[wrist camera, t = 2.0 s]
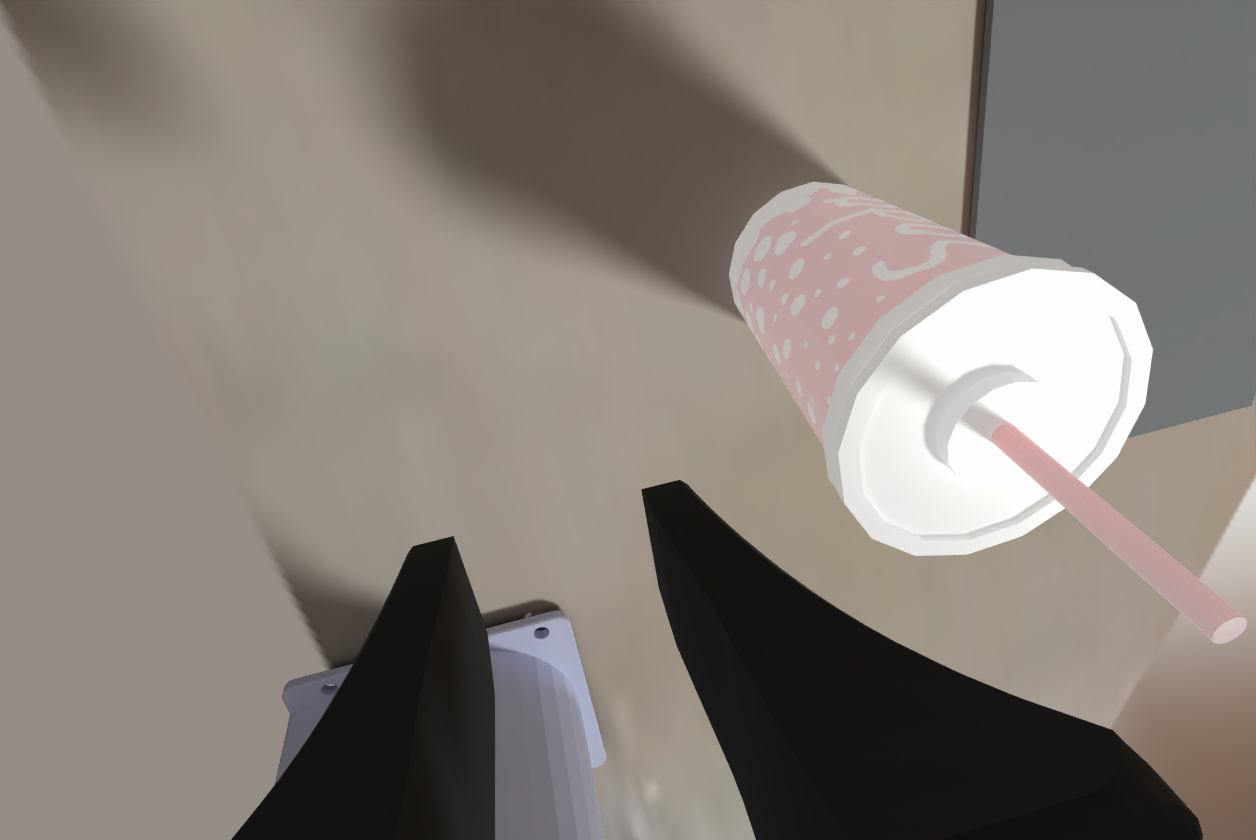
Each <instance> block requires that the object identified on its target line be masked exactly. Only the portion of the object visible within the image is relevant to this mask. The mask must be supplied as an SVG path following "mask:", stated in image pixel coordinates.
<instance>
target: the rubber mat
mask: <svg viewBox="0 0 1256 840" xmlns="http://www.w3.org/2000/svg"><path fill="white" fill-rule="evenodd" d="M969 237H970V238H973V239H975V240H977V241H980V242H982V243H985V244H987V245H989V246H992V247H994V248H997V249H999V250H1001V251H1004V252H1006V253H1009V254H1011V255H1015V256H1028V257H1040V258H1052V259H1061V260H1063V261H1064V262H1066V263H1067V264H1069V265H1070V266H1072V267H1081V268H1084V269H1086V270H1088V271H1090V272H1092V273H1094V274H1096V275H1097V276H1098V277H1100V278H1101V279H1103V280H1104V281H1106V282H1107V283H1108V284H1110V285H1111V286H1113V287H1114V288H1115V289H1117V290H1118V291H1120V292H1121V293H1123V294H1124V295H1125V296H1127V297H1128V298H1130V299H1131V300H1133V301H1134V302H1135V303H1136V305H1137V307H1138V310H1139V313H1140V315H1141V318H1142V321H1143V324H1144V326H1145V329H1146V332H1147V335H1148V337H1149V340H1150V343H1151V346H1152V348H1153V352H1152V359H1151V366H1150V373H1149V381H1148V388H1147V395H1146V402H1145V405H1144V407H1143V409H1142V411H1141V413H1140V414H1139V416H1138V418H1137V420H1136V422H1135V424H1134V426H1133V428H1132V429H1131V431H1130V433H1129V435H1128V437H1127V438H1129V437H1133V436H1137V435H1141V434H1144V433H1148V432H1152V431H1156V430H1160V429H1163V428H1167V427H1171V426H1175V425H1179V424H1183V423H1186V422H1190V421H1194V420H1198V419H1202V418H1205V417H1209V416H1213V415H1217V414H1221V413H1225V412H1228V411H1232V410H1236V409H1240V408H1244V407H1248V406H1251V405H1252V402H1253V399H1254V396H1255V393H1256V0H987V5H986V19H985V32H984V46H983V59H982V73H981V86H980V100H979V113H978V127H977V140H976V153H975V167H974V180H973V194H972V207H971V221H970V234H969Z"/></svg>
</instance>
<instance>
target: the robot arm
mask: <svg viewBox="0 0 1256 840" xmlns="http://www.w3.org/2000/svg"><path fill="white" fill-rule="evenodd" d="M641 490H642V496H643V501H644V507H645V513H646V518H647V524H648V529H649V535H650V541H651V546H652V552H653V557H654V563H655V569H656V574H657V580H658V585H659V590H660V593H661V596H662V600H663V603H664V606H665V609H666V613H667V616H668V619H669V622H670V626H671V629H672V632H673V635H674V638H675V642H676V645H677V647H678V650H679V652H680V654H681V657H682V659H683V661H684V663H685V666H686V668H687V670H688V673H689V675H690V677H691V680H692V682H693V684H694V687H695V689H696V691H697V693H698V696H699V698H700V700H701V702H702V705H703V707H704V709H705V712H706V714H707V716H708V718H709V721H710V723H711V725H712V728H713V730H714V732H715V734H716V737H717V739H718V741H719V744H720V746H721V748H722V750H723V753H724V755H725V757H726V760H727V762H728V764H729V766H730V769H731V771H732V773H733V776H734V779H735V781H736V784H737V786H738V789H739V791H740V794H741V796H742V799H743V802H744V805H745V808H746V811H747V814H748V817H749V820H750V823H751V826H752V829H753V832H754V835H755V838H756V840H1202V839H1203V834H1202V831H1201V827H1200V824H1199V821H1198V818H1197V817H1196V816H1195V815H1194V814H1193V813H1192V811H1191V810H1190V809H1189V808H1188V807H1187V806H1186V805H1185V804H1184V803H1183V802H1182V800H1181V799H1180V798H1179V797H1178V796H1177V795H1176V794H1175V793H1174V791H1173V790H1172V789H1171V788H1170V787H1169V786H1168V785H1167V783H1166V782H1165V781H1164V780H1163V779H1162V778H1161V777H1160V776H1159V775H1158V774H1157V773H1156V772H1155V771H1154V770H1153V769H1152V768H1151V766H1150V765H1149V764H1148V763H1147V762H1146V761H1144V760H1143V759H1142V758H1141V757H1140V756H1139V755H1138V754H1137V753H1136V752H1135V751H1134V750H1132V749H1131V748H1130V747H1129V746H1128V745H1127V744H1126V743H1125V742H1124V741H1123V740H1122V739H1121V738H1120V737H1119V736H1118V735H1117V734H1116V733H1115V732H1114V731H1113V730H1111V729H1108V728H1105V727H1102V726H1099V725H1096V724H1093V723H1091V722H1088V721H1085V720H1082V719H1079V718H1076V717H1073V716H1070V715H1067V714H1064V713H1062V712H1059V711H1056V710H1053V709H1050V708H1047V707H1044V706H1041V705H1038V704H1036V703H1033V702H1030V701H1027V700H1024V699H1021V698H1019V697H1016V696H1014V695H1011V694H1009V693H1006V692H1004V691H1001V690H999V689H996V688H994V687H992V686H989V685H987V684H984V683H982V682H980V681H977V680H975V679H972V678H970V677H967V676H965V675H963V674H961V673H958V672H956V671H954V670H952V669H950V668H948V667H946V666H943V665H941V664H939V663H937V662H935V661H933V660H931V659H929V658H927V657H925V656H923V655H921V654H919V653H917V652H915V651H913V650H911V649H909V648H907V647H905V646H903V645H901V644H899V643H896V642H894V641H893V640H891V639H889V638H887V637H886V636H884V635H882V634H880V633H878V632H877V631H875V630H873V629H871V628H870V627H868V626H866V625H864V624H863V623H861V622H859V621H858V620H856V619H854V618H853V617H851V616H849V615H848V614H846V613H845V612H843V611H841V610H840V609H838V608H836V607H835V606H833V605H832V604H830V603H829V602H827V601H826V600H824V599H823V598H821V597H820V596H818V595H817V594H815V593H814V592H812V591H811V590H810V589H808V588H807V587H805V586H804V585H803V584H801V583H800V582H799V581H797V580H796V579H794V578H793V577H792V576H790V575H789V574H787V573H786V572H785V571H783V570H782V569H781V568H780V567H778V566H777V565H776V564H774V563H773V562H772V561H771V560H769V559H768V558H767V557H766V556H764V555H763V554H762V553H761V552H760V551H758V550H757V549H756V548H755V547H754V546H752V545H751V544H750V543H749V542H747V541H746V540H745V539H744V538H743V537H741V536H740V535H739V534H738V533H737V532H736V531H735V530H733V529H732V528H731V527H730V526H729V525H728V524H727V523H726V522H725V521H724V520H723V519H721V518H720V517H719V516H718V515H717V514H716V513H715V512H714V511H713V510H712V509H711V508H710V507H709V506H708V505H707V504H706V503H705V502H704V501H703V500H702V499H701V498H700V497H699V496H698V495H697V494H696V493H695V492H694V491H693V490H692V489H691V488H690V487H689V485H688V484H686V483H684V482H683V481H681V480H677V481H673V482H669V483H665V484H661V485H657V486H653V487H649V488H645V489H641ZM539 627H545V628H546V629H544V630H540V631H537V630H536V629H537V628H539ZM326 684H334V685H335V686H327V685H326ZM282 698H283V701H284V703H285V705H286V707H287V708H288V710H289V712H290V713H291V714H290V718H289V723H288V728H287V732H286V737H285V741H284V746H283V750H282V755H281V759H280V764H279V768H278V773H277V777H276V782H275V786H274V787H273V788H272V789H271V791H270V792H269V793H268V794H267V796H266V797H265V798H264V800H263V801H262V802H261V804H260V805H259V806H258V807H257V809H256V810H255V811H254V812H253V814H252V815H251V816H250V817H249V818H248V820H247V821H246V822H245V823H244V825H243V826H242V827H241V828H240V830H239V831H238V832H237V833H236V834H235V836H234V837H233V838H232V840H605V837H604V831H603V826H602V821H601V815H600V810H599V805H598V799H597V794H596V788H595V783H594V778H593V772H592V768H596V767H598V766H600V765H601V764H602V763H604V761H605V759H606V754H605V749H604V745H603V742H602V738H601V734H600V730H599V727H598V723H597V719H596V715H595V712H594V708H593V704H592V700H591V697H590V693H589V689H588V686H587V682H586V678H585V674H584V671H583V667H582V663H581V659H580V656H579V652H578V648H577V645H576V641H575V637H574V633H573V630H572V626H571V622H570V618H569V617H568V615H567V614H566V613H565V612H563V611H551V612H547V613H543V614H539V615H535V616H532V617H528V618H524V619H520V620H517V621H513V622H509V623H505V624H501V625H498V626H494V627H490V628H486V627H485V624H484V621H483V619H482V616H481V613H480V610H479V607H478V604H477V602H476V599H475V596H474V593H473V590H472V587H471V585H470V582H469V579H468V576H467V573H466V570H465V568H464V565H463V562H462V559H461V556H460V553H459V550H458V548H457V545H456V542H455V539H454V536H452V537H448V538H444V539H440V540H436V541H432V542H428V543H424V544H420V545H416V546H413V547H412V548H411V550H410V551H409V553H408V554H407V557H406V559H405V561H404V563H403V565H402V568H401V570H400V572H399V574H398V576H397V579H396V581H395V583H394V585H393V587H392V589H391V591H390V594H389V596H388V598H387V600H386V602H385V604H384V606H383V608H382V610H381V612H380V614H379V616H378V618H377V620H376V622H375V624H374V626H373V628H372V630H371V632H370V633H369V635H368V637H367V639H366V641H365V643H364V645H363V647H362V649H361V651H360V652H359V654H358V656H357V658H356V660H355V662H354V663H353V664H350V665H346V666H343V667H339V668H335V669H331V670H328V671H324V672H320V673H316V674H312V675H309V676H305V677H302V678H297V679H294V680H292V681H290V682H288V683H287V684H286V685H285V688H284V691H283V695H282Z"/></svg>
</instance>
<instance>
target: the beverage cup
mask: <svg viewBox="0 0 1256 840" xmlns="http://www.w3.org/2000/svg"><path fill="white" fill-rule="evenodd" d="M729 277H730V283H731V288H732V293H733V298H734V303H735V305H736V306H737V308H738V309H739V311H740V313H741V314H742V316H743V318H744V319H745V321H746V322H747V324H748V326H749V327H750V329H751V330H752V332H753V334H754V335H755V337H756V338H757V340H758V342H759V343H760V345H761V347H762V348H763V350H764V351H765V353H766V355H767V356H768V358H769V359H770V361H771V363H772V364H773V366H774V368H775V369H776V371H777V372H778V374H779V376H780V377H781V379H782V380H783V382H784V384H785V385H786V387H787V389H788V390H789V392H790V393H791V395H792V397H793V398H794V400H795V401H796V403H797V405H798V406H799V408H800V410H801V411H802V413H803V414H804V416H805V418H806V419H807V421H808V422H809V424H810V426H811V427H812V429H813V430H814V432H815V434H816V435H817V437H818V439H819V440H820V442H821V443H822V445H823V447H824V450H825V457H826V464H827V471H828V478H829V480H830V481H831V482H832V484H833V485H834V486H835V487H836V489H837V490H838V495H839V497H840V498H841V499H842V501H843V502H844V504H845V505H846V506H847V507H848V509H849V510H850V511H851V512H852V514H853V515H854V516H855V517H856V519H857V520H858V521H859V523H860V524H861V525H862V526H863V528H864V529H865V530H866V531H867V533H868V534H869V535H870V536H871V538H872V539H874V540H877V541H879V542H882V543H884V544H887V545H889V546H892V547H894V548H897V549H900V550H902V551H905V552H907V553H910V554H912V555H915V556H925V555H967V554H970V553H973V552H976V551H979V550H982V549H985V548H988V547H991V546H994V545H997V544H1000V543H1003V542H1006V541H1009V540H1012V539H1015V538H1018V537H1021V536H1023V535H1024V534H1026V533H1027V532H1029V531H1031V530H1032V529H1034V528H1035V527H1037V526H1038V525H1040V524H1041V523H1043V522H1044V521H1046V520H1048V519H1049V518H1051V517H1052V516H1054V515H1055V514H1057V513H1058V512H1060V511H1062V510H1063V509H1066V510H1068V511H1069V512H1070V513H1071V514H1072V515H1073V516H1074V517H1075V518H1076V519H1078V520H1079V521H1080V522H1081V523H1082V524H1083V525H1084V526H1085V527H1086V528H1088V529H1089V530H1090V531H1091V532H1092V533H1093V534H1094V535H1095V536H1096V537H1098V538H1099V539H1100V540H1101V541H1102V542H1103V543H1104V544H1105V545H1106V546H1107V547H1109V548H1110V549H1111V550H1112V551H1113V552H1114V553H1115V554H1116V555H1117V556H1119V557H1120V558H1121V559H1122V560H1123V561H1124V562H1125V563H1126V564H1127V565H1129V566H1130V567H1131V568H1132V569H1133V570H1134V571H1135V572H1136V573H1137V574H1139V575H1140V576H1141V577H1142V578H1143V579H1144V580H1145V581H1146V582H1147V583H1149V584H1150V585H1151V586H1152V587H1153V588H1154V589H1155V590H1156V591H1157V592H1159V593H1160V594H1161V595H1162V596H1163V597H1164V598H1165V599H1166V600H1167V601H1169V602H1170V603H1171V604H1172V605H1173V606H1174V607H1175V608H1176V609H1177V610H1179V611H1180V612H1181V613H1182V614H1183V615H1184V616H1185V617H1186V618H1187V619H1188V620H1190V621H1191V622H1192V623H1193V624H1194V625H1195V626H1196V627H1198V629H1200V630H1201V631H1202V632H1203V633H1204V634H1205V635H1206V636H1207V637H1209V638H1210V639H1211V640H1212V641H1213V642H1215V643H1217V644H1223V643H1226V642H1229V641H1231V640H1233V639H1235V638H1236V637H1238V636H1239V635H1240V634H1241V633H1242V632H1243V631H1244V629H1245V628H1246V625H1247V621H1246V619H1245V618H1244V617H1243V616H1242V615H1241V614H1239V613H1238V612H1237V611H1236V610H1235V609H1233V608H1232V607H1231V606H1230V605H1228V604H1227V603H1226V602H1225V601H1224V600H1223V599H1221V598H1220V597H1219V596H1218V595H1217V594H1215V593H1214V592H1213V591H1212V590H1211V589H1209V588H1208V587H1207V586H1206V585H1204V584H1203V583H1202V582H1201V581H1200V580H1199V579H1197V578H1196V577H1195V576H1194V575H1193V574H1191V573H1190V572H1189V571H1188V570H1187V569H1185V568H1184V567H1183V566H1182V565H1181V564H1179V563H1178V562H1177V561H1176V560H1175V559H1173V558H1172V557H1171V556H1170V555H1169V554H1167V553H1166V552H1165V551H1164V550H1163V549H1162V548H1160V547H1159V546H1158V545H1157V544H1156V543H1154V542H1153V541H1152V540H1151V539H1150V538H1148V537H1147V536H1146V535H1145V534H1144V533H1142V532H1141V531H1140V530H1139V529H1138V528H1136V527H1135V526H1134V525H1133V524H1132V523H1130V522H1129V521H1128V520H1127V519H1126V518H1124V517H1123V516H1122V515H1121V514H1120V513H1118V512H1117V511H1116V510H1115V509H1114V508H1112V507H1111V506H1110V505H1109V504H1108V503H1106V502H1105V501H1104V500H1103V499H1102V498H1100V497H1099V496H1098V495H1097V494H1096V493H1094V492H1093V491H1092V490H1091V489H1090V488H1088V487H1089V486H1090V485H1091V484H1092V483H1093V482H1094V481H1095V480H1096V479H1097V477H1098V476H1099V475H1100V474H1101V473H1102V472H1103V471H1104V470H1105V469H1106V468H1107V467H1108V466H1109V465H1110V464H1111V463H1112V462H1113V461H1114V459H1115V458H1116V457H1117V456H1118V454H1119V452H1120V450H1121V448H1122V446H1123V445H1124V443H1125V441H1126V439H1127V437H1128V435H1129V433H1130V431H1131V429H1132V428H1133V426H1134V424H1135V422H1136V420H1137V418H1138V416H1139V414H1140V413H1141V411H1142V409H1143V407H1144V405H1145V402H1146V395H1147V388H1148V381H1149V373H1150V366H1151V359H1152V352H1153V348H1152V346H1151V343H1150V340H1149V337H1148V335H1147V332H1146V329H1145V326H1144V324H1143V321H1142V318H1141V315H1140V313H1139V310H1138V307H1137V305H1136V303H1135V302H1134V301H1133V300H1131V299H1130V298H1128V297H1127V296H1125V295H1124V294H1123V293H1121V292H1120V291H1118V290H1117V289H1115V288H1114V287H1113V286H1111V285H1110V284H1108V283H1107V282H1106V281H1104V280H1103V279H1101V278H1100V277H1098V276H1097V275H1096V274H1094V273H1092V272H1090V271H1088V270H1086V269H1084V268H1081V267H1072V266H1070V265H1069V264H1067V263H1066V262H1064V261H1063V260H1061V259H1052V258H1040V257H1028V256H1015V255H1011V254H1009V253H1006V252H1004V251H1001V250H999V249H997V248H994V247H992V246H989V245H987V244H985V243H982V242H980V241H977V240H975V239H973V238H970V237H968V236H965V235H963V234H961V233H958V232H956V231H953V230H951V229H949V228H946V227H944V226H941V225H939V224H937V223H934V222H932V221H929V220H927V219H925V218H922V217H920V216H917V215H915V214H913V213H910V212H908V211H905V210H903V209H901V208H898V207H896V206H893V205H891V204H889V203H886V202H884V201H881V200H879V199H877V198H874V197H872V196H869V195H867V194H864V193H862V192H860V191H857V190H855V189H852V188H850V187H848V186H845V185H840V184H831V183H821V182H811V183H808V184H804V185H801V186H798V187H795V188H792V189H789V190H786V191H783V192H780V193H779V194H778V195H777V196H775V197H774V198H773V199H772V200H770V201H769V202H768V203H767V204H765V205H764V206H763V207H762V208H760V209H759V210H758V211H757V212H755V213H754V214H753V216H752V217H751V219H750V220H749V222H748V224H747V225H746V227H745V228H744V230H743V232H742V233H741V235H740V236H739V238H738V240H737V241H736V243H735V247H734V252H733V257H732V262H731V267H730V272H729Z"/></svg>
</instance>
